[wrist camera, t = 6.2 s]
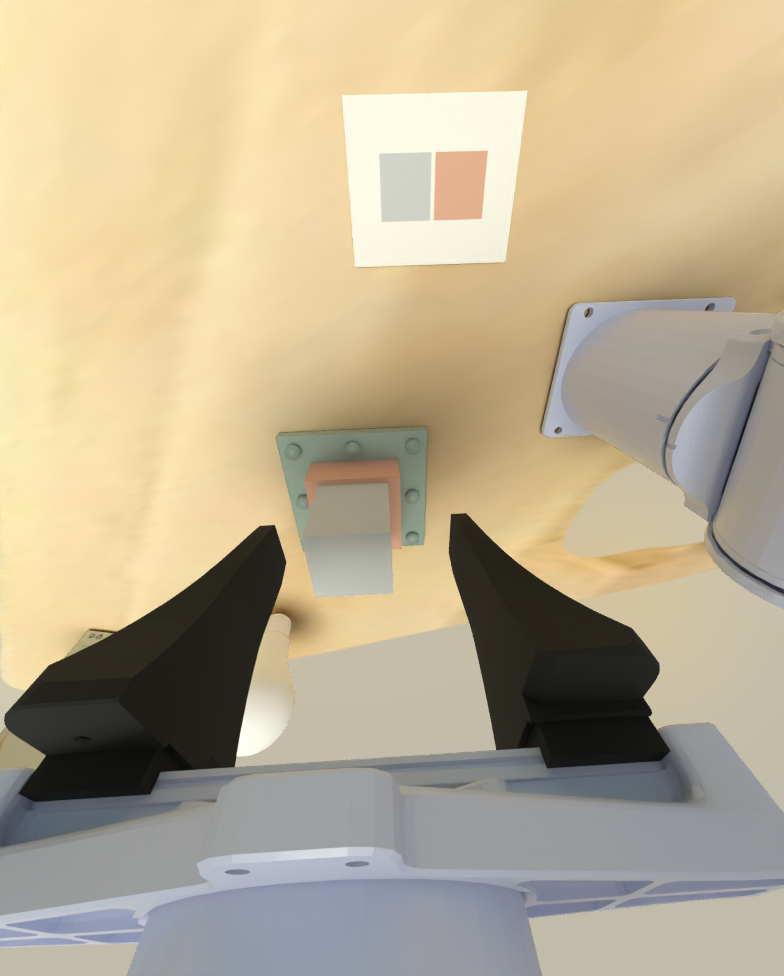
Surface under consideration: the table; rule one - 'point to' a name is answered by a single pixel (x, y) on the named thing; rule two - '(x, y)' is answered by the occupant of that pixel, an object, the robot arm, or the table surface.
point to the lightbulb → (268, 690)
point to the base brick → (356, 475)
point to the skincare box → (16, 752)
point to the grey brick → (349, 540)
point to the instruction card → (432, 176)
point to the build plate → (360, 447)
